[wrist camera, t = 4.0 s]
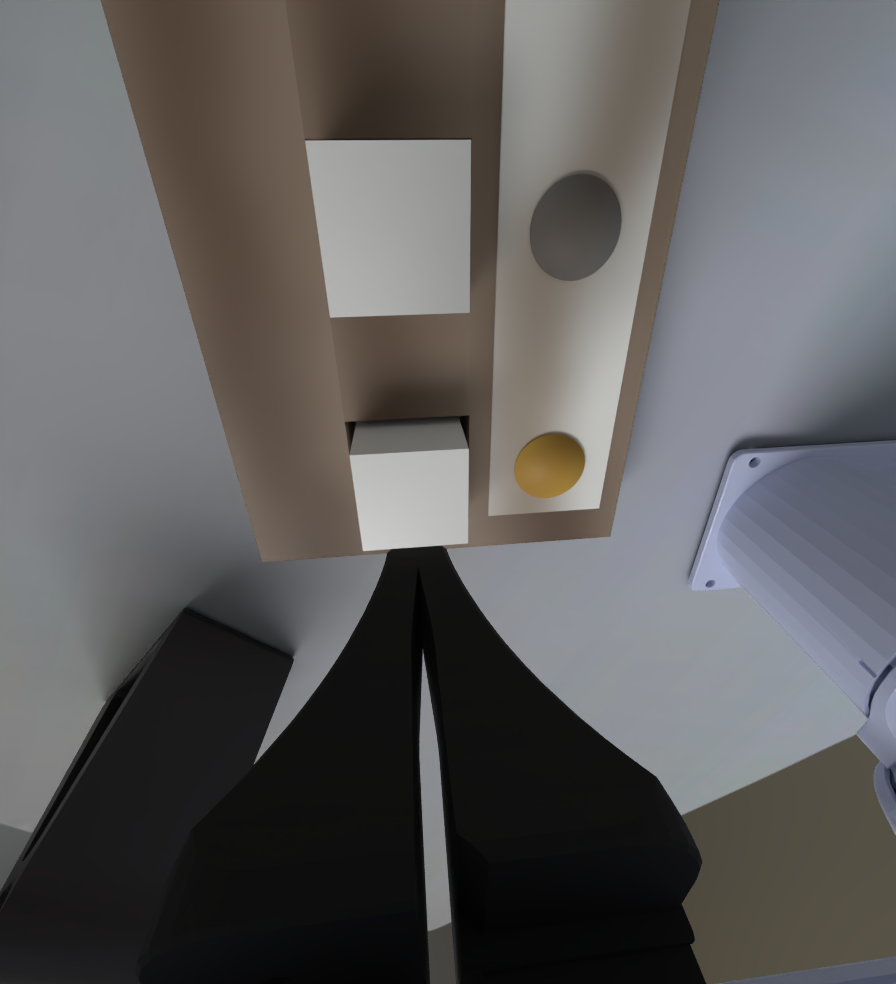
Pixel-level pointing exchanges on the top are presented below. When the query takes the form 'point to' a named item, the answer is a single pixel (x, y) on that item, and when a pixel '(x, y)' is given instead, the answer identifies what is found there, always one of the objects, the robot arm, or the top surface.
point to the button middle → (393, 225)
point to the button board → (493, 236)
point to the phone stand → (135, 803)
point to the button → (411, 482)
